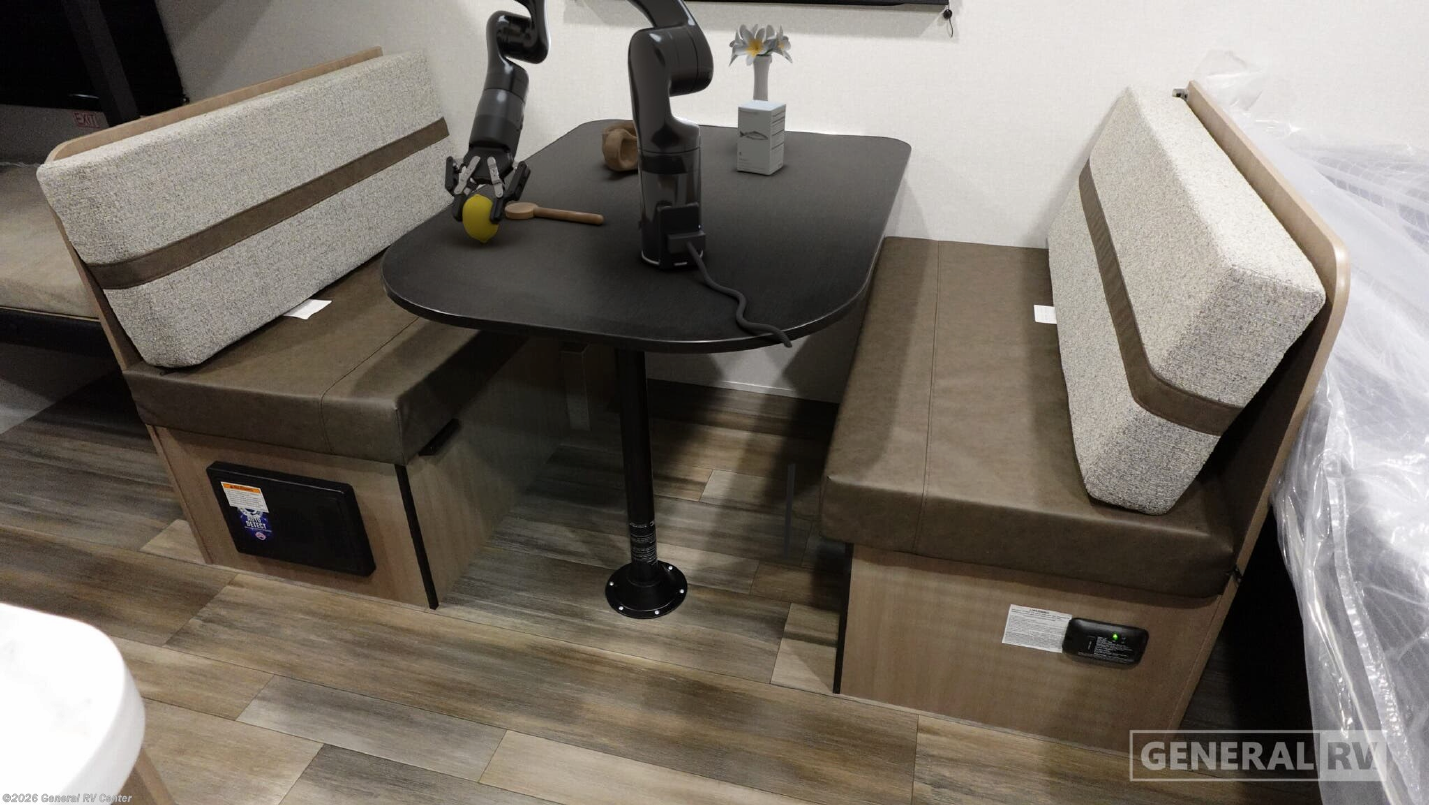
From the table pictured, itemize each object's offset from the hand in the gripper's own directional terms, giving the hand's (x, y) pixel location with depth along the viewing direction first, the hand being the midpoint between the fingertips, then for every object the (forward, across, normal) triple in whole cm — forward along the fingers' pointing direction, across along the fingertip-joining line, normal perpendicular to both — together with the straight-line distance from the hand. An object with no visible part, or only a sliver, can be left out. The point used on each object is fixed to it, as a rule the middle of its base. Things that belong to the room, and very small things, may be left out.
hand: (475, 220), depth 138 cm
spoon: (-8, +7, +14) cm, 17 cm away
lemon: (+2, 0, +4) cm, 5 cm away
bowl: (-30, +11, +36) cm, 48 cm away
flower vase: (-44, +33, +51) cm, 75 cm away
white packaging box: (-33, +36, +40) cm, 63 cm away
